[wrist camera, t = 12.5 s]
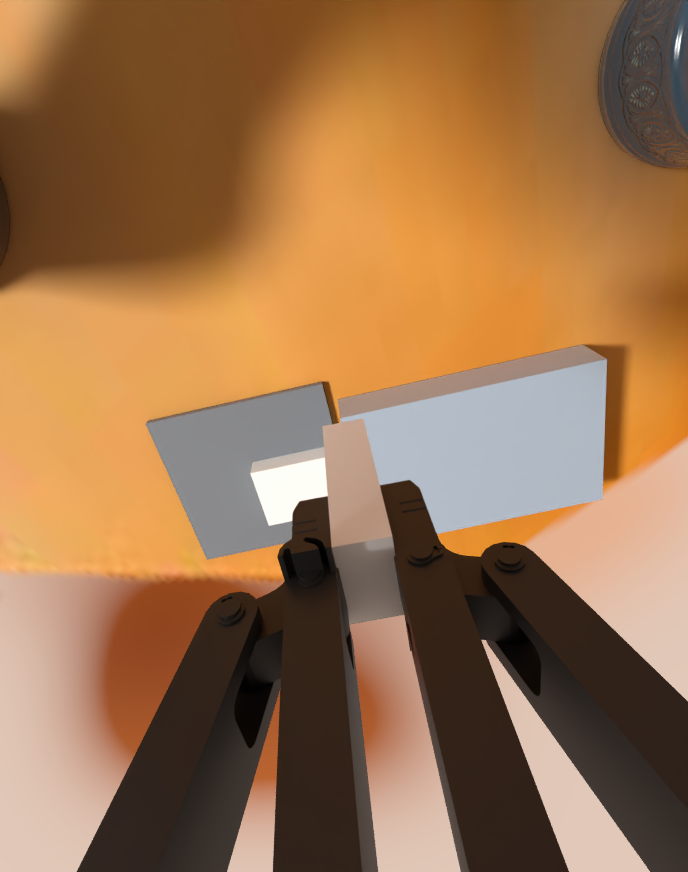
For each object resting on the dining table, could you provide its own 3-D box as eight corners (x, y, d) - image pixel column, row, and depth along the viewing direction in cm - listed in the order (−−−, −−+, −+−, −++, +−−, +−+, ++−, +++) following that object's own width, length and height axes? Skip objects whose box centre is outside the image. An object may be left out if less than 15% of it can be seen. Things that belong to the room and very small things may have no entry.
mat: (208, 555, 51) (207, 559, 51) (147, 421, 44) (145, 423, 44) (358, 523, 51) (358, 527, 50) (321, 381, 43) (322, 384, 43)
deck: (367, 521, 51) (371, 547, 47) (337, 399, 44) (340, 418, 41) (581, 476, 50) (602, 499, 46) (582, 344, 43) (607, 358, 40)
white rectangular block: (270, 513, 49) (268, 525, 47) (252, 462, 46) (250, 473, 44) (359, 494, 48) (361, 506, 47) (346, 441, 46) (348, 452, 44)
